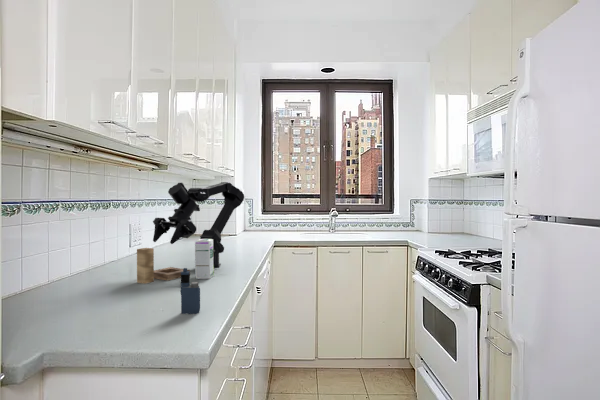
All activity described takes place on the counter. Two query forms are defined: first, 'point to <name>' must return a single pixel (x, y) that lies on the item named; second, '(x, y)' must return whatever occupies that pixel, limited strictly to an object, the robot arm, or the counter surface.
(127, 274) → the counter surface
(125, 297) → the counter surface
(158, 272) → the socket
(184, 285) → the vaping device
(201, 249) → the syrup box
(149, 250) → the peg
